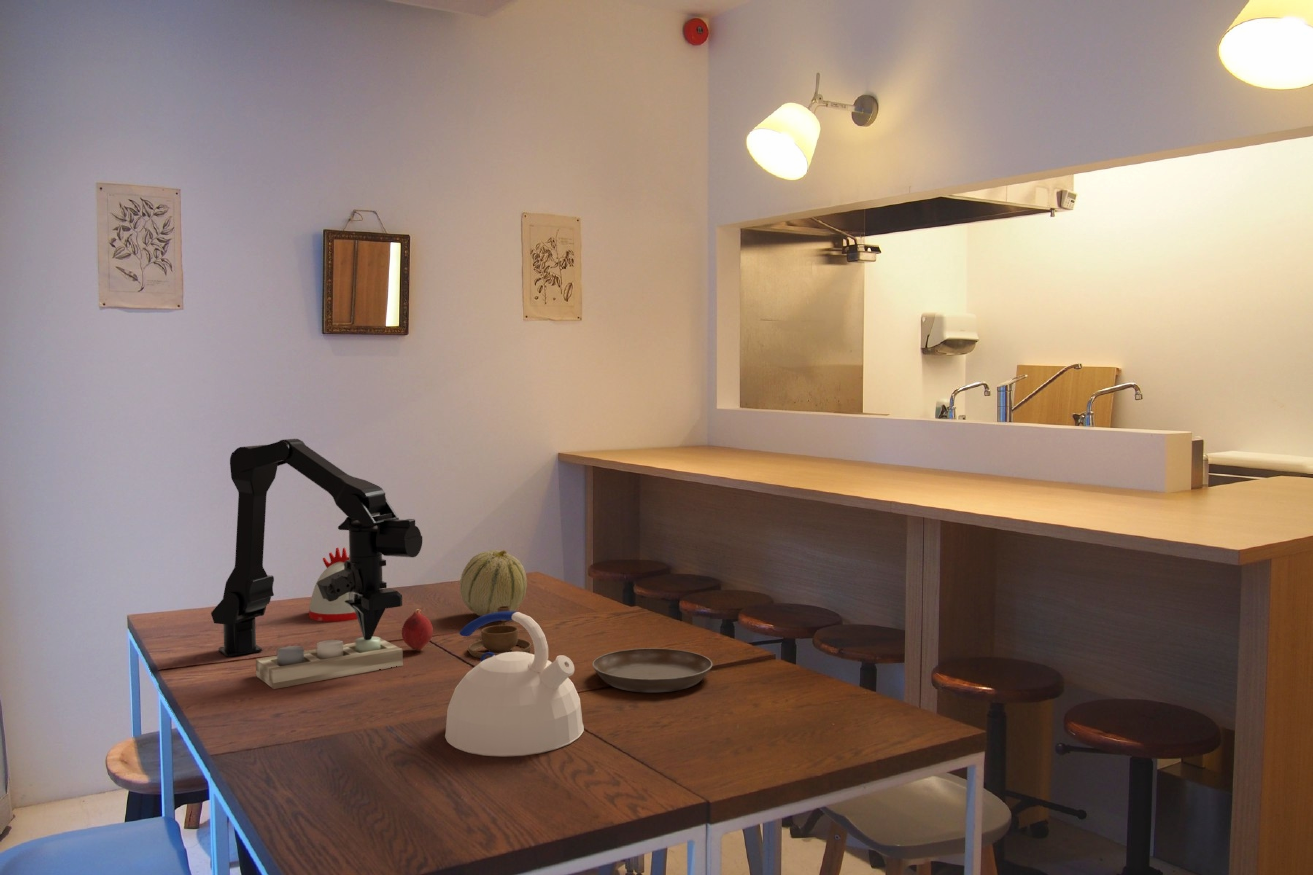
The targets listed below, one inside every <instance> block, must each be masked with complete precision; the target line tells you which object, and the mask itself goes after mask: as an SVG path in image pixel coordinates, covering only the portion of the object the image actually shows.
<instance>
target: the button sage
mask: <svg viewBox="0 0 1313 875" xmlns="http://www.w3.org/2000/svg"><path fill="white" fill-rule="evenodd" d="M380 639H381V637H379V636H374V635H373V636H372V638H371V639H370V640H365V639H364V637H363V636H362V637H358V638H356V639H355V640H354V641H355V642H354V643H355V648H356V652H358V653H363V652H369V651H375V650H381V648H380Z"/></svg>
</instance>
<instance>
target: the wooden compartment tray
mask: <svg viewBox="0 0 1313 875" xmlns="http://www.w3.org/2000/svg"><path fill="white" fill-rule="evenodd" d="M380 648H381V650H375V651H369V652H363V653H358V652H356V648H355V642H351V643H350V642H349V643H346V644H344V643H343V656H340V657H334V658H328V659H318V658H317V648H314V649H309V650H304V663H299V664H293V665H287V666H279V665H277V655H272V656H265V657H260V658H255V676H256V677H257V678H258V679H260V680H261V681H262V682H263V683H265V684H266V685H267V686H269V687H271V688H272V689H273V690H275V689H276V690H277V689H281V688H287V687H292V686H298V685H305V684H310V683H315V682H320V681H325V680H331V679H336V678H341V677H347V676H348V677H349V676H353V675H358V674H365V673H369V672H374V671H380V670H379V669H381V670H385V669H391V667H392V668H396V666H397V667H403V666H404V663H403V662H404V661H403V660H404V659H403V658H404V657H403V656H404V654H403V651H404V650H403V648H402V647H399V646H397V645H395V644H393V643H390V641H387V640H385V639H383V638H380Z"/></svg>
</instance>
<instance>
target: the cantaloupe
mask: <svg viewBox="0 0 1313 875" xmlns="http://www.w3.org/2000/svg"><path fill="white" fill-rule="evenodd" d="M527 584H528V579H527V574H526V571H525V568H524V566H523V564H522V563H521V561H520V560H519V559H517V558H516V557H515V556H513V555H511V554H510V553H508V552H507V550H506V549H502V550H497V549H496V550H494V549H492V550H487V551H483V552H478V554H476V555H475V556H473V557H472V558H471V559H470V560H469V561H468V562H467V564H466V565H465V567H464V569H463V571H462V573H461V576H460V579H459V592H460V597H461V599H462V601H463V603H464V605H465V606H466V607H467V609H468V610H470V611H471V612H473V614H475V615H477V616H478V617H481V616H483V615H487V614H490V613H495V612H498V607H500V606H509V607H510V611H517V609H518V608H519V607H520V606H521V605H522V603H523V602H524V599H525V597H526V595H527V594H526V592H527V589H528V588H527V586H528V585H527Z"/></svg>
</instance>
